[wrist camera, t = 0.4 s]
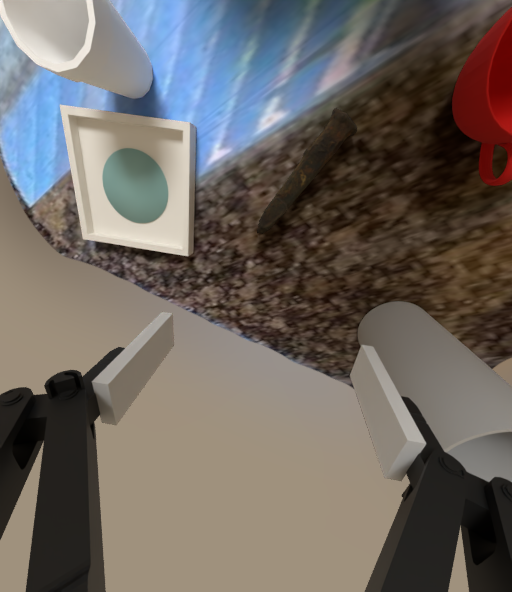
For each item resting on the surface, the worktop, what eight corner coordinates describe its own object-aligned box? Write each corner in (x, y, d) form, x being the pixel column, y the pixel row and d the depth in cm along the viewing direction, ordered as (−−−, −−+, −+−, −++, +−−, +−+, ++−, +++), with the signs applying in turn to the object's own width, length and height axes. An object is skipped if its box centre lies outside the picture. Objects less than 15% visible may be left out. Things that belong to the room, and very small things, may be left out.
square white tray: (74, 110, 36) (59, 104, 33) (196, 126, 35) (190, 122, 32) (93, 236, 44) (83, 238, 41) (193, 252, 43) (188, 256, 40)
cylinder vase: (349, 310, 44) (418, 440, 21) (423, 290, 41) (597, 417, 18) (363, 362, 48) (433, 516, 25) (431, 347, 45) (581, 508, 22)
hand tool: (334, 111, 32) (341, 99, 28) (353, 133, 33) (363, 125, 29) (246, 219, 39) (241, 222, 35) (264, 235, 40) (261, 241, 36)
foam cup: (149, 126, 35) (81, 94, 24) (92, 87, 34) (-10, 33, 22) (173, 52, 31) (106, -32, 20) (109, 5, 30) (-3, -112, 19)
